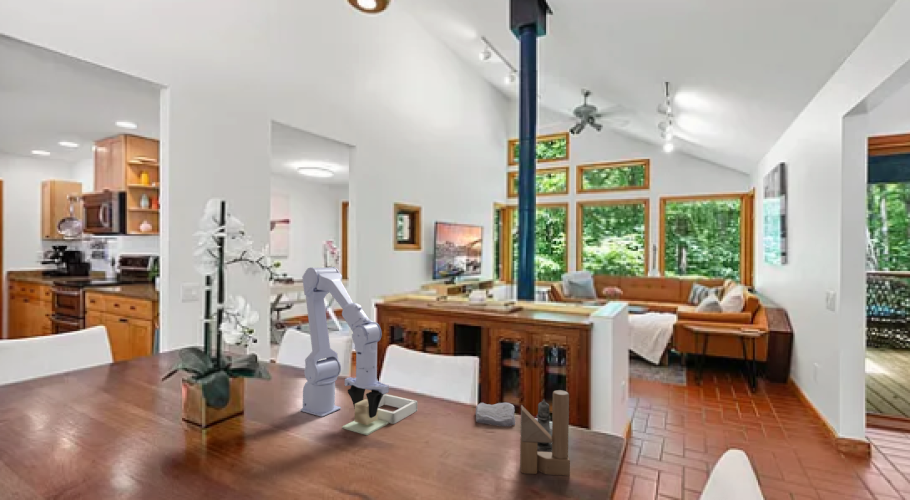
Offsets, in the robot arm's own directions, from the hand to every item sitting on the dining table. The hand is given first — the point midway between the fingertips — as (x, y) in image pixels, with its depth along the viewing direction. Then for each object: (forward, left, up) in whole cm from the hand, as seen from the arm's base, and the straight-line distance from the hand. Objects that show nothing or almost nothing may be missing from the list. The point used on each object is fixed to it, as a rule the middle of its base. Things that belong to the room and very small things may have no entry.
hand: (365, 414), depth 119 cm
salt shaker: (+47, +14, -3) cm, 49 cm away
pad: (0, 0, -3) cm, 3 cm away
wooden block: (+51, +2, -3) cm, 51 cm away
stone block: (+30, +23, -4) cm, 38 cm away
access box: (-1, +11, -3) cm, 11 cm away
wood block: (0, 0, -2) cm, 2 cm away
